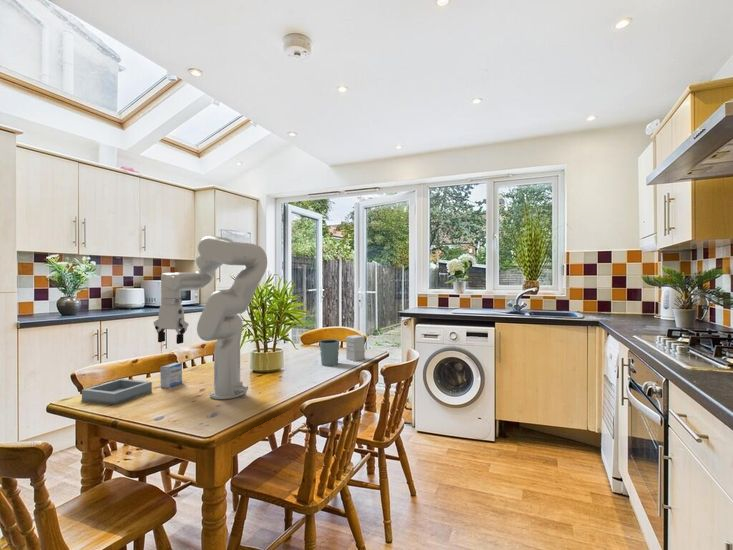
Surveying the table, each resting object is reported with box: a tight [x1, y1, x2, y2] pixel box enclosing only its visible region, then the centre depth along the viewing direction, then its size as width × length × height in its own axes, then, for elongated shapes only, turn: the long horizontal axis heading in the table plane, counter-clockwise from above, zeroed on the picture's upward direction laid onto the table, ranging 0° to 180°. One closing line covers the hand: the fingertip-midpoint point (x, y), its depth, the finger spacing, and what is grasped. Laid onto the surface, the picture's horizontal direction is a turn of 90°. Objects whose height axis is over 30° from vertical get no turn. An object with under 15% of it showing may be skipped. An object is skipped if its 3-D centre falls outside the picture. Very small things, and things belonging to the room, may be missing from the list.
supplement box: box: [345, 334, 366, 362], centre depth 211 cm, size 7×7×13 cm
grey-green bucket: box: [319, 339, 340, 367], centre depth 199 cm, size 10×10×12 cm
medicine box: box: [159, 362, 183, 389], centre depth 163 cm, size 8×4×9 cm, turn 168°
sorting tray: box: [81, 378, 153, 406], centre depth 148 cm, size 16×16×4 cm
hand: (170, 342), depth 163 cm, fingers open, 9 cm apart
